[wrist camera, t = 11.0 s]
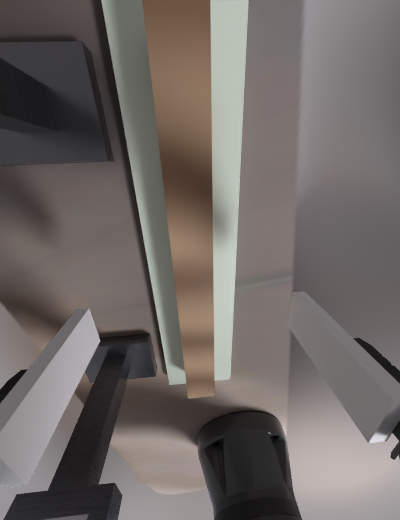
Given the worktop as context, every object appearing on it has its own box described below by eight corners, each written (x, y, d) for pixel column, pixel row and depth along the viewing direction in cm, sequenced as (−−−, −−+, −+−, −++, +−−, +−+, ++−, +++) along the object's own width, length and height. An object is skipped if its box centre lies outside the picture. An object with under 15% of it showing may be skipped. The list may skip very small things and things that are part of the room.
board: (228, 370, 26) (230, 379, 25) (170, 376, 26) (169, 385, 25) (242, 5, 11) (248, -12, 10) (107, 5, 11) (98, -13, 10)
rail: (211, 370, 24) (214, 395, 21) (187, 372, 24) (188, 398, 21) (204, 36, 11) (210, -7, 8) (152, 37, 11) (141, -7, 8)
